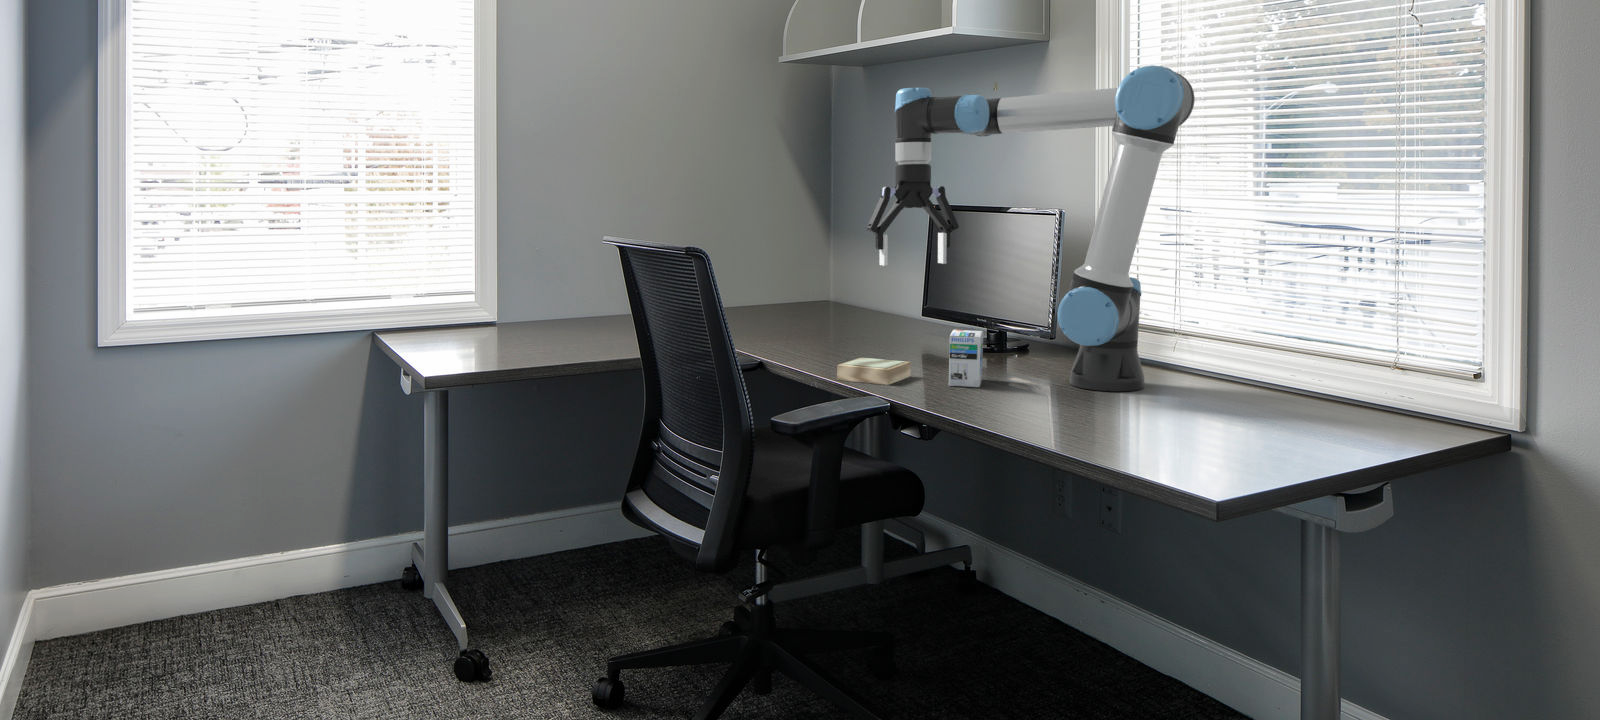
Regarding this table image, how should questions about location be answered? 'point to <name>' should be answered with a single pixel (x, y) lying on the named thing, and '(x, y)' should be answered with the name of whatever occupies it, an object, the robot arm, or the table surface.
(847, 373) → the block
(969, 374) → the light bulb box
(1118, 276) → the robot arm
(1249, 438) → the table surface
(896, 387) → the table surface
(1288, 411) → the table surface
